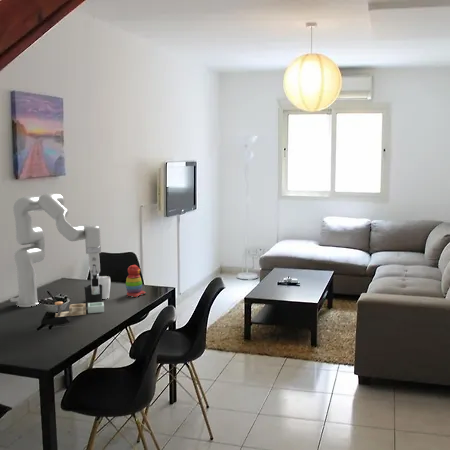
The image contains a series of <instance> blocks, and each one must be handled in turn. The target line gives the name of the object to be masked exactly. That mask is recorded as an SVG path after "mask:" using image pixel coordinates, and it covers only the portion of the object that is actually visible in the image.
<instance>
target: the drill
mask: <svg viewBox="0 0 450 450" xmlns="http://www.w3.org/2000/svg"><path fill="white" fill-rule="evenodd" d="M92 272H93V271H92ZM96 272H97V271H96ZM99 276H100V273H99V272H97V277H98V286H96V287H92V273H90V285H91V289H92V294H93V295H96V294H100V289H99Z"/></svg>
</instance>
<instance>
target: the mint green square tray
mask: <svg viewBox="0 0 450 450" xmlns="http://www.w3.org/2000/svg"><path fill="white" fill-rule="evenodd" d="M104 303H105V302H104V301H102V302H97V303H88V304H87V313H88V314H94V313H95V314H97V313H104V312H105V304H104Z"/></svg>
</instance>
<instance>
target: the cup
mask: <svg viewBox="0 0 450 450" xmlns="http://www.w3.org/2000/svg"><path fill="white" fill-rule="evenodd" d="M99 284H101V285H102V299H105V300H108V299H109V298H110V291H111V284H112V283H111V276H109V275H108V276H107V275H99ZM107 298H108V299H107Z"/></svg>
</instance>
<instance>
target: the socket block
mask: <svg viewBox="0 0 450 450" xmlns="http://www.w3.org/2000/svg"><path fill="white" fill-rule="evenodd" d="M85 315H87V304H86V302H85V303H72V304H69V308H68V311H60V305H58V313H56V312H55V315H54V317H55V318H62V317H73V316H85Z"/></svg>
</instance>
